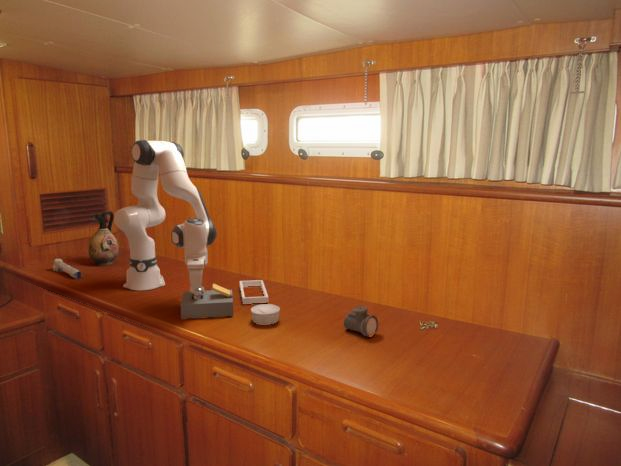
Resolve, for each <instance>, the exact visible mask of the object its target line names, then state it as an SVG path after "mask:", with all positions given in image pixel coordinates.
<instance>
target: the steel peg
mask: <svg viewBox="0 0 621 466" xmlns="http://www.w3.org/2000/svg"><path fill="white" fill-rule="evenodd" d="M189 291H190V295H193V296H194V299H201V295H203V294H204V291H205V286H203V285H201V288H199V295H198V296H195V295H194V288H191V286H190V287H189Z"/></svg>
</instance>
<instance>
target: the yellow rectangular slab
mask: <svg viewBox="0 0 621 466" xmlns="http://www.w3.org/2000/svg"><path fill="white" fill-rule="evenodd" d="M211 287H212V288H211V290H213V291H216V292H218V293H220V294H223V295H225V296H228V297H230V298H232V297H234V295H233V289H232V290H230V289H227V288H225V287H222V286H221V285H218V284H216V283H212V286H211Z"/></svg>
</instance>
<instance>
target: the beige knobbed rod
mask: <svg viewBox="0 0 621 466" xmlns="http://www.w3.org/2000/svg"><path fill="white" fill-rule="evenodd" d="M52 269H53V270H52V271H54V272H56V273H57V272H63V271H64V272H65V273H67V274H69V276H70V277H71V278H72V279H75V280H78V279H81V278H83V273H82V272H81V271H80V270H79V269H78V268H74V267H73V266H71V265H69V264H67V263H65V262H64V261H63V259H62V258H55V259H54V260H53V264H52Z"/></svg>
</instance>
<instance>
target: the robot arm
mask: <svg viewBox="0 0 621 466" xmlns="http://www.w3.org/2000/svg"><path fill="white" fill-rule="evenodd" d="M184 156H185V155H184V150H183V147H182V146H181V144H179V143H177V142H173V141H165V140H160V139H159V140H146V139H141V140H136V141H135V142H134V143H133V144H132V147H131V157H132V159H133V161H134V164H133V167H132V168H133V169H132V175H131V185H130V191H131V193H132V194H133V196H135V197H136V198H137V201H138V202H137V205H131V206H129V205H128V206H126V207H122V208H120V209H118V210H116V212H115V214H114V219H113V222H114V224H115V226H116V227H117V229H118V230H121V232H123V233H124V235H125V236H126V238H127V240H128V244H129V246H128V247H129V255H130V258H129V263H128V264H129V267H128V268H127V269H126V282H125V283H124V284H123V285H122V287H123V288H125V289H129V290H133V291H148V290H150V291H151V290H154V289H157V288H160V287H164V286H166V282H165V279H164V277H163V275H161V270H160V268H159V266H158V264H157V263H158V262H157V261H158V259H157V256H156V243H155V239H153V238H152V237H150V236H149V235H148V233H147V230H146V229H147V228H151V227H156V226H158V225H160V224H162V223H163V222H165V220H166V210H165V208H164V207H163V206H162V205H161V203H160V202H159V198H158V187H159V186H158V185H159V178H160V183H161V187H162V189H163V191H164V192H166V193H167V194H168V195H170V196H172V197H174V198H177V199H179V200H183V201H186V202H188V203H189V204H190V205H191V206H192V208H193V211H194V214H195V217H189V218H187V219H185V221H184V222H183V223H181V224H178V225H175V226H174V227H173V229H172V230H171V235H170V236H171V237H170V238H171V242H172V244H173V245H174V246H175V247H177V248H182V249H184V264H185V266H186V269H187V270H188V274H189V275H188V276H189V284H190V287H191V288H194V295H195V296H198V295H199V288H201V286H202V281H203V280H202V278H203V273H204V272H203V271H204V269H205V267H206V265H207V264H208V260H209V259H208V258H209V257H208V248H207V247H208V246H211V245H212V244H214V242H215V241H216V239H217V236H218V233H217V228H216V227H215V225H214V223H213V221H212V219H211V217H210V214H209V212H208V211H209V210H208V209H207V206H206V204H205V201H204V199H203V196H202V194H201V191H200V189H199V188H198V187H197V186H196V185H194V184H193V183H192V181H191V179H190V177H189V175H188V171H187V166H186V163H185V161H184Z"/></svg>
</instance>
